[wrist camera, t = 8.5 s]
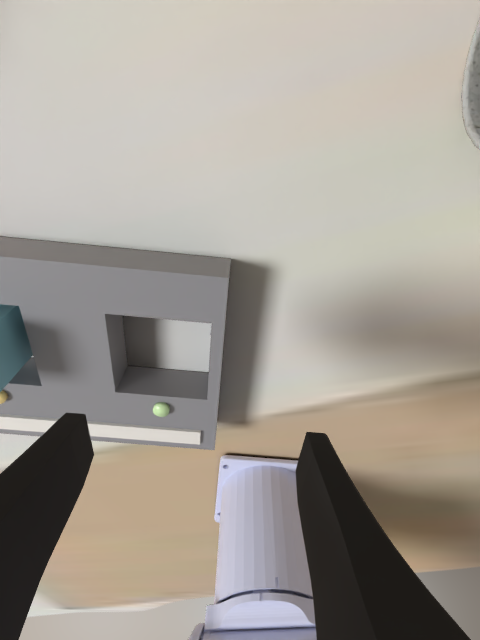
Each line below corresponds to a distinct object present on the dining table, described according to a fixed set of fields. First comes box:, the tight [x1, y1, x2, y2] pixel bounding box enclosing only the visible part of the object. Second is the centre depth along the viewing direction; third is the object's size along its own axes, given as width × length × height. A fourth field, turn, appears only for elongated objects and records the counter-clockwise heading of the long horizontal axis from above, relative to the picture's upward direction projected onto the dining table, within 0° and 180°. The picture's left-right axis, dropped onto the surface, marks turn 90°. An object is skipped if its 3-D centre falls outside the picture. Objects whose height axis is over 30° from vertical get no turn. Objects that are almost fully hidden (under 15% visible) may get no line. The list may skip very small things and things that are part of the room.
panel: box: [0, 237, 231, 450], centre depth 21 cm, size 13×17×3 cm
